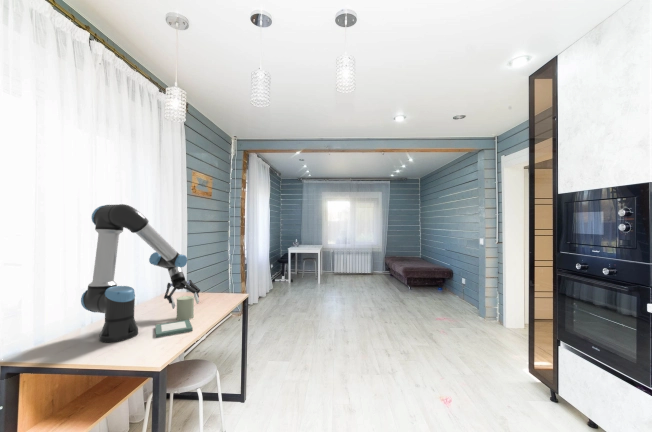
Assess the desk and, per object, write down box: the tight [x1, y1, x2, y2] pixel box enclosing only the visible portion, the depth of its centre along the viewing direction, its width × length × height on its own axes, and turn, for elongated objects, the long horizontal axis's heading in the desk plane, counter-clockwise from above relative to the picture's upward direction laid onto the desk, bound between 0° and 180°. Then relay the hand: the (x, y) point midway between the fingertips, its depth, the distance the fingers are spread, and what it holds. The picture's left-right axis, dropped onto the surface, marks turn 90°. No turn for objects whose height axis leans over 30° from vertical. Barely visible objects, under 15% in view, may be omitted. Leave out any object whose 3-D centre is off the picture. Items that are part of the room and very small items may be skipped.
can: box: [176, 295, 195, 321], centre depth 167 cm, size 9×9×12 cm
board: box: [154, 319, 193, 338], centre depth 148 cm, size 16×16×2 cm
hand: (186, 304), depth 168 cm, fingers open, 13 cm apart
